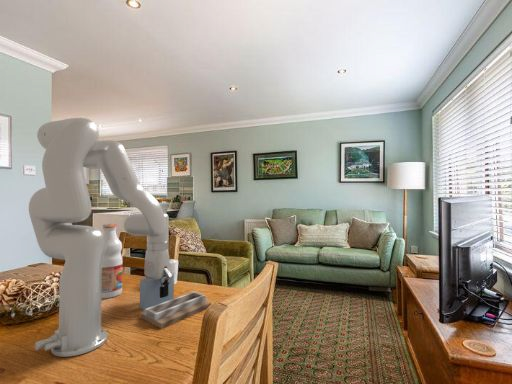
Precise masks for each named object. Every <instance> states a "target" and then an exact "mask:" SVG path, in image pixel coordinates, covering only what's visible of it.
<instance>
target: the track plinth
mask: <svg viewBox="0 0 512 384" xmlns="http://www.w3.org/2000/svg"><path fill="white" fill-rule="evenodd" d="M210 305H211V306H212V302H211V301H208V300H207V295H205V294H203V293H200V292H197V291H191V292H189V293H186V294H183V295H180V296H178V297H174V299H172V300H169V301H166V302H163V303H160V304H158V305H155V306H152V307H149V308H146V309H145V310H144V311H142V312H140V313H139V317H140V318H141V319H142V320H144V321H146V322H148V324H149V323H150V324H151V325H153V326H155V327H157V328H159V329H161V330H162V329H165V328H167V327H168V326H170V325H173V324H175V323H178V322H180V321H182V320H185V319H187V318H190V317H191V316H194V315H196V314H198V313H200V312H203V311H205V310H207V308H208V307H209V306H210ZM208 309H209V308H208Z"/></svg>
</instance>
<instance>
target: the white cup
mask: <svg viewBox="0 0 512 384" xmlns="http://www.w3.org/2000/svg"><path fill="white" fill-rule="evenodd" d="M169 260H170V272H171V273H174V285H176V284H177V283H178V274H179V273H178V271H179V259H173V258H171V259H170V258H169Z"/></svg>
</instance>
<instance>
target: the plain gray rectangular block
mask: <svg viewBox="0 0 512 384" xmlns="http://www.w3.org/2000/svg"><path fill="white" fill-rule="evenodd" d="M170 273H171V272H170ZM171 275H172V279H171V282H170V283H169V285H168V296H166V297H163V298H160V287H161V284H160V281H159V280H155V279H152V278H149V277H148V278H146V277H144V278H141V279H139V309H142V310H144V311H145V309H146V308H149V307H152V306H155V305H158V304H160V303H163V302H166V301H169V300H172V299H174V298H175V295H174V292H175V288H174V287H175V284H174V273H171ZM162 277H163V276H162ZM164 281H165V279H163V282H164Z"/></svg>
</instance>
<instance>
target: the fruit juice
mask: <svg viewBox="0 0 512 384" xmlns="http://www.w3.org/2000/svg"><path fill="white" fill-rule="evenodd" d="M102 230H103V232H102V233H103V234H104V236H105V239H106V248H105V252H104V257H103V262H102V276H101V299H111V298H115V297H117V296H120V295H121V294H122V292H123V256H122V249H123V242H122V241H121V240H120V239H119V238H118V235H117V224H114V223H110V224H103V225H102Z"/></svg>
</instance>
